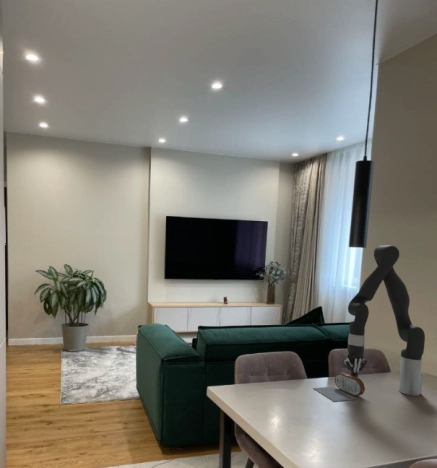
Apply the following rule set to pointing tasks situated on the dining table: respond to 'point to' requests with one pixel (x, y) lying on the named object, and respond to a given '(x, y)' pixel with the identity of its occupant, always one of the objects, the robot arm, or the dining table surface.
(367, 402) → the dining table surface
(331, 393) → the mat
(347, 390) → the tin
